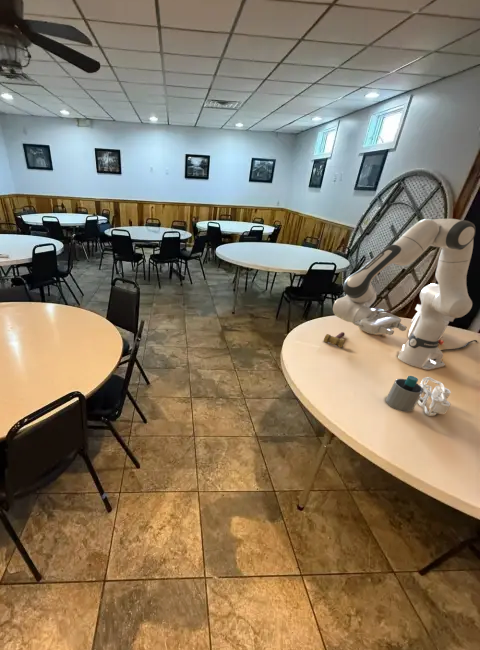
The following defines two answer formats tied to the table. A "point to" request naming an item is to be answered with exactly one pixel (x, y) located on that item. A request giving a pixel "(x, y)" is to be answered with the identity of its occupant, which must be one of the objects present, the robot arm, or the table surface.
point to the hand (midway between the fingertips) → (399, 331)
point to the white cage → (435, 397)
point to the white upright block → (417, 316)
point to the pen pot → (403, 396)
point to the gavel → (335, 339)
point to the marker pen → (410, 383)
